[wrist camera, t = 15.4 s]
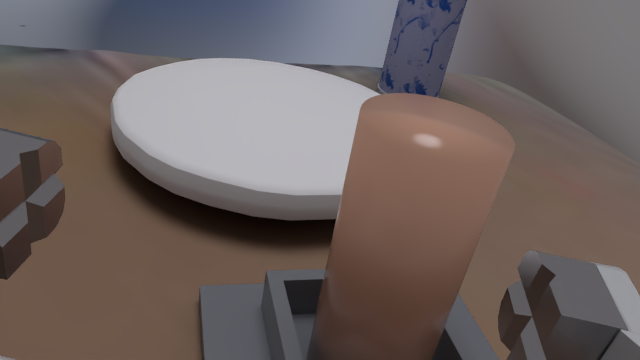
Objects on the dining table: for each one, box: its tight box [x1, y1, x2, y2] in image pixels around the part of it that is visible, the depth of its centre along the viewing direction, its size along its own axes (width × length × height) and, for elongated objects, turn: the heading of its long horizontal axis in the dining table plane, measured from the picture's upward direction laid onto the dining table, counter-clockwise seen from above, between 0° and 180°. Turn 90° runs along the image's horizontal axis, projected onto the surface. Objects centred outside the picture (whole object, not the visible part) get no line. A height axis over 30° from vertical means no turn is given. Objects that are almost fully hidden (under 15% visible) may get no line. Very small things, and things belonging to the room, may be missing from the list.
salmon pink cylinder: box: [306, 93, 515, 360], centre depth 24 cm, size 6×6×14 cm
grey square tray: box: [199, 269, 499, 360], centre depth 27 cm, size 16×13×4 cm
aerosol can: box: [377, 0, 467, 98], centre depth 62 cm, size 8×8×20 cm
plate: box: [110, 58, 381, 220], centre depth 47 cm, size 28×6×27 cm
